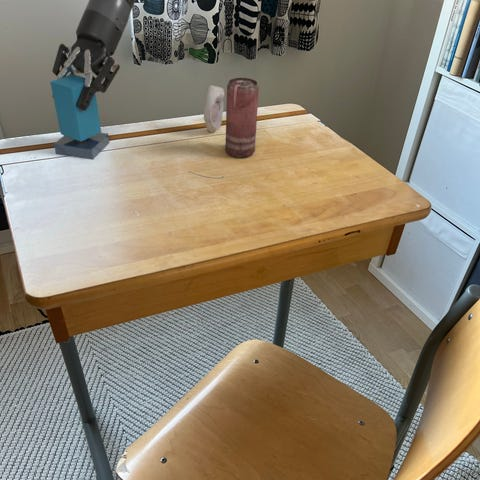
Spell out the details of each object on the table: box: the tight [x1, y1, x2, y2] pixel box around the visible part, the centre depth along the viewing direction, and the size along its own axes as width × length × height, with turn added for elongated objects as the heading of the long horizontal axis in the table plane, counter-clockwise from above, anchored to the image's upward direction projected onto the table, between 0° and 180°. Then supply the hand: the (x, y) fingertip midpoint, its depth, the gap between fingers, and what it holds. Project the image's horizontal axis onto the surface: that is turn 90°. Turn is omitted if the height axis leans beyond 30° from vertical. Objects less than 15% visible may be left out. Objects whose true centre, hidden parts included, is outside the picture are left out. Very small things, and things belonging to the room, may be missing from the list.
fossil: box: [203, 84, 226, 133], centre depth 110 cm, size 6×4×10 cm, turn 147°
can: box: [224, 77, 260, 159], centre depth 101 cm, size 6×6×14 cm
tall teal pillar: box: [49, 74, 102, 141], centre depth 99 cm, size 6×6×10 cm
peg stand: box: [53, 132, 110, 160], centre depth 101 cm, size 8×8×10 cm
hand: (68, 104), depth 97 cm, fingers closed on tall teal pillar, 5 cm apart
